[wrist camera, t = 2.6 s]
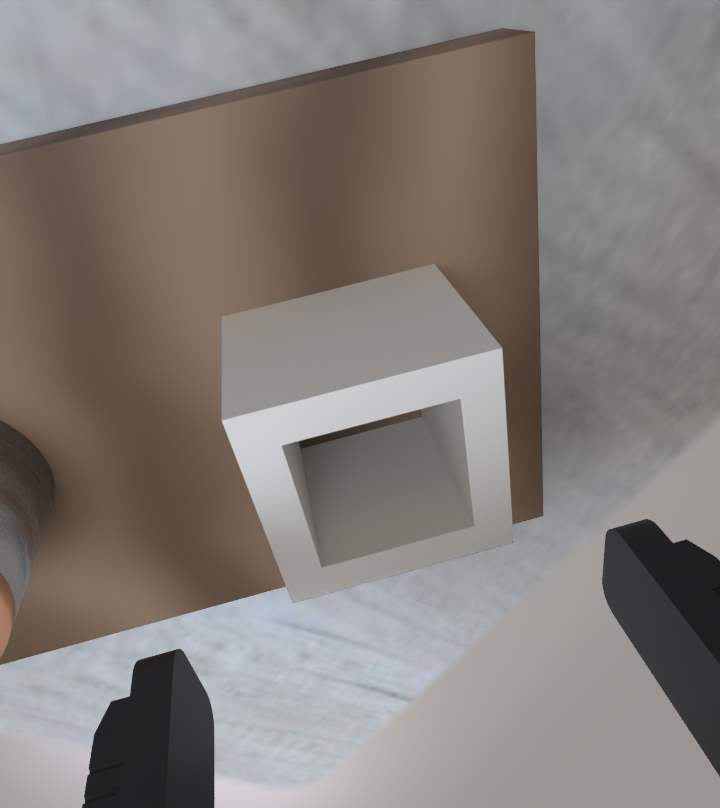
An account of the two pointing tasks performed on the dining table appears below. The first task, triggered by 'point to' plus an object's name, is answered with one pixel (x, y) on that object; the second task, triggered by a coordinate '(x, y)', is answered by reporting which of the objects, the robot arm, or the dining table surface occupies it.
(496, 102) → the pipe stand
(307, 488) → the collar
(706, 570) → the robot arm
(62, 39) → the dining table surface
